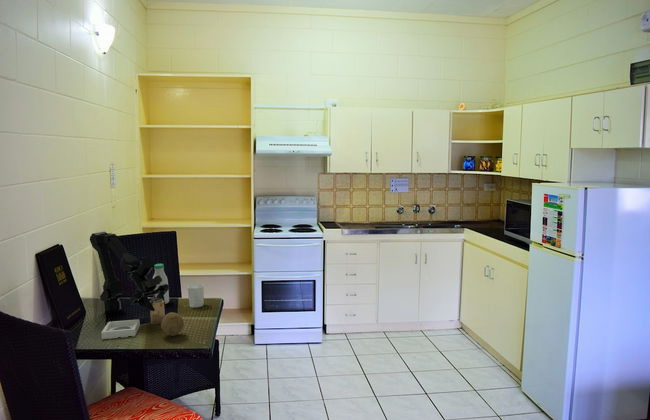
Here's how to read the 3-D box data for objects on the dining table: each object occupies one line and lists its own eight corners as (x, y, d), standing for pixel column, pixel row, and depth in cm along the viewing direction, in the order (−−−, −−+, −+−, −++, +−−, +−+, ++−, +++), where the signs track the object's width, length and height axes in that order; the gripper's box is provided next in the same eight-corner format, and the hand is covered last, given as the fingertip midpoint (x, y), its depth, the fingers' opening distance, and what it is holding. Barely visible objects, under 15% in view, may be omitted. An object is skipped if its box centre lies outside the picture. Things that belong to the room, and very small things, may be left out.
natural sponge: (156, 338, 207) (155, 315, 206) (170, 330, 215) (168, 308, 214) (175, 340, 204) (173, 317, 203) (188, 333, 212) (186, 310, 211)
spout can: (148, 323, 226) (146, 299, 224) (159, 319, 231) (157, 296, 229) (160, 326, 221) (158, 302, 220) (170, 322, 226) (169, 298, 225)
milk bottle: (171, 300, 260) (169, 262, 257) (165, 305, 252) (163, 266, 250) (157, 300, 261) (154, 262, 258) (150, 305, 253) (148, 266, 251)
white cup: (207, 303, 253) (206, 284, 251) (199, 308, 245) (197, 288, 244) (194, 302, 255) (193, 283, 254) (185, 307, 248) (184, 287, 247)
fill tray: (102, 339, 207) (101, 332, 207) (108, 328, 220) (108, 321, 220) (135, 336, 210) (134, 329, 210) (139, 325, 223) (139, 319, 222)
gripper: (131, 275, 218) (149, 303, 214) (165, 266, 234) (183, 292, 229) (121, 290, 223) (139, 318, 219) (155, 281, 239) (172, 307, 234)
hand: (159, 308), depth 225 cm, fingers closed on spout can, 6 cm apart
